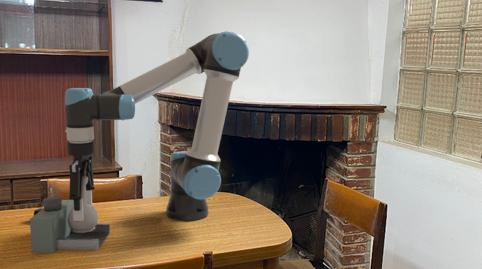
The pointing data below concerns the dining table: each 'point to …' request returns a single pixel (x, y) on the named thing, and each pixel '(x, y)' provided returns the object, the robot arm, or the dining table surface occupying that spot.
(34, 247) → the housing
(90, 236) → the side bay
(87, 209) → the potion bottle
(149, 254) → the dining table surface
